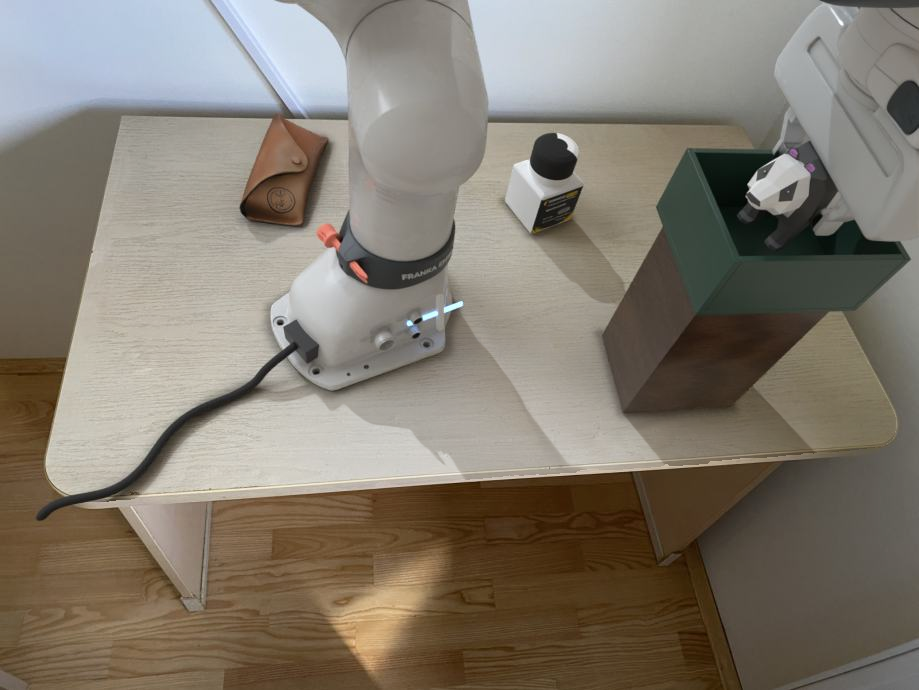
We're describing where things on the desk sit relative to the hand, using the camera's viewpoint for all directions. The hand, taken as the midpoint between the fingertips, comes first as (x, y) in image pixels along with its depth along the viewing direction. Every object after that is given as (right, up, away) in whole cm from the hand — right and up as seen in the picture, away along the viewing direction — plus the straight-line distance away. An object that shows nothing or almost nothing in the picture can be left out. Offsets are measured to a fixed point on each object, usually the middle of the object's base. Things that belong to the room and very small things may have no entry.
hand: (799, 193), depth 57 cm
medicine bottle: (-18, +6, +38) cm, 42 cm away
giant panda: (-1, -2, +3) cm, 4 cm away
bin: (-1, -5, +7) cm, 9 cm away
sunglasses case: (-53, +10, +35) cm, 65 cm away
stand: (-4, -16, +26) cm, 31 cm away
